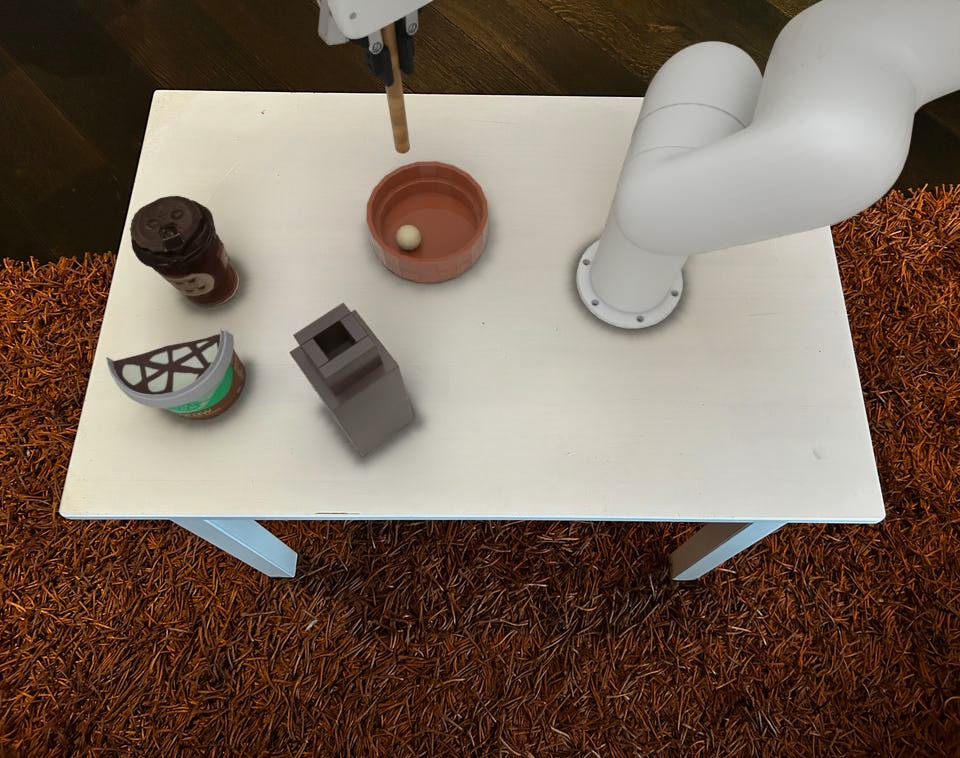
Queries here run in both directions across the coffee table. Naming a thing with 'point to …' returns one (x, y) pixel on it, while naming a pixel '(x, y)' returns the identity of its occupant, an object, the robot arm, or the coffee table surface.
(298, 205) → the coffee table surface
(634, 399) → the coffee table surface
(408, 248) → the dough ball
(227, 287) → the coffee cup
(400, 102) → the stick
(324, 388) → the holder
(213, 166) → the coffee table surface
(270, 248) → the coffee table surface
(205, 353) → the food container
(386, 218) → the bowl
